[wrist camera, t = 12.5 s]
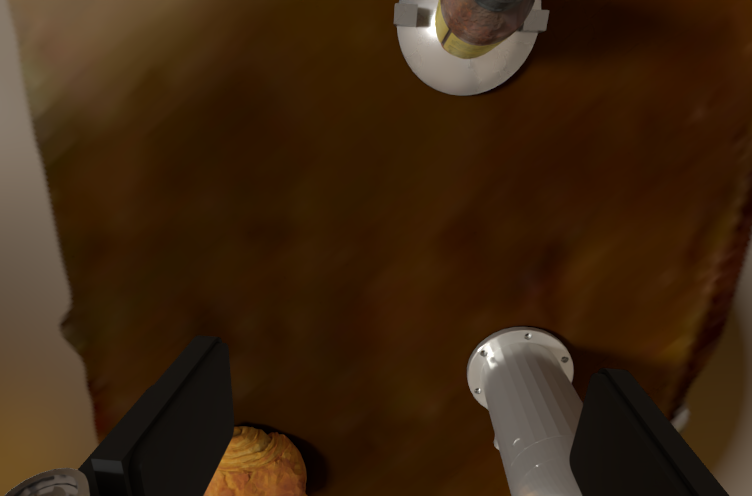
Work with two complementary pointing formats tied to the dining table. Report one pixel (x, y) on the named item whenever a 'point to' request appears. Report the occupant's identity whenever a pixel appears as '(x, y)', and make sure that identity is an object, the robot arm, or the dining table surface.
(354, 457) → the dining table surface
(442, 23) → the sauce bottle
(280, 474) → the bread bun
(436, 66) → the base
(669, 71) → the dining table surface
